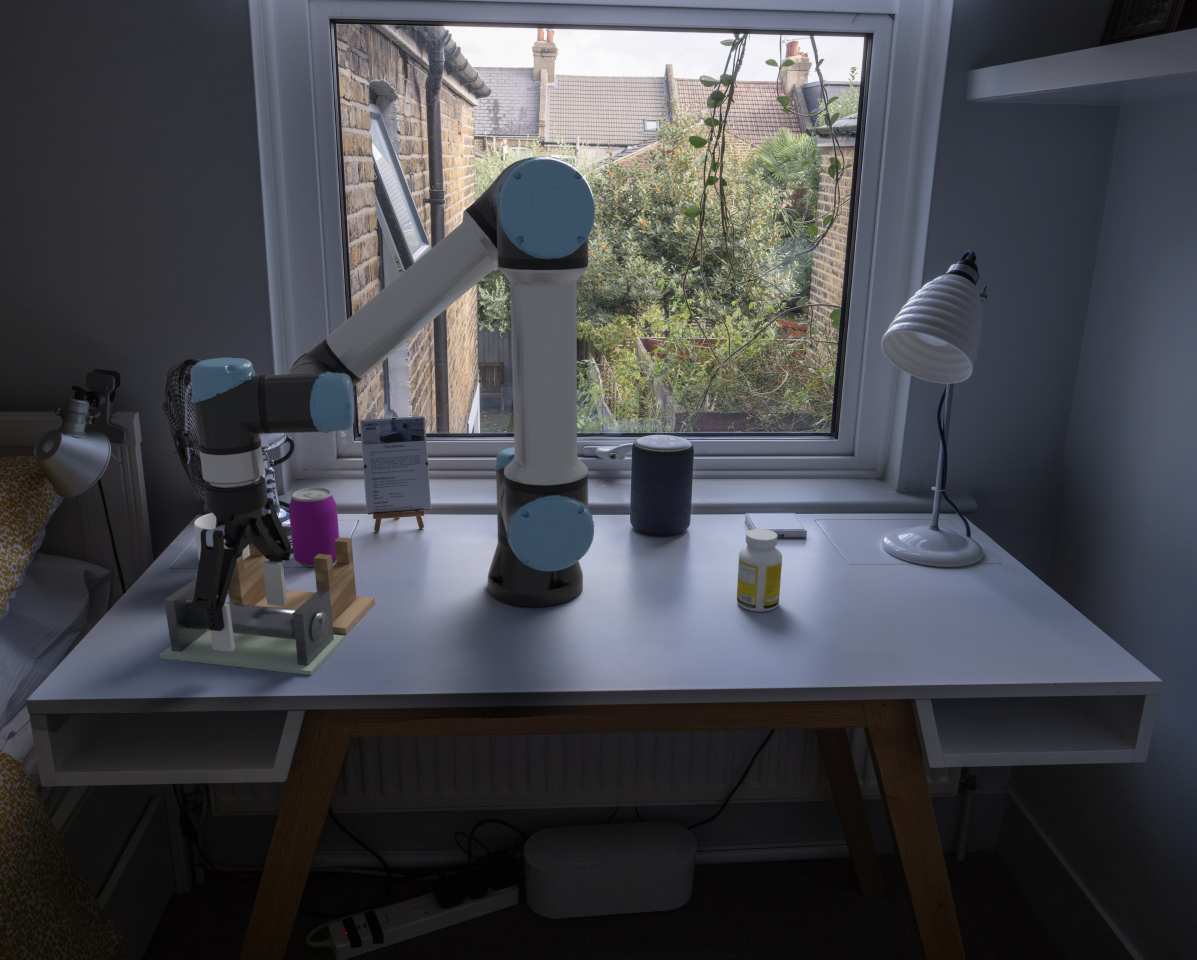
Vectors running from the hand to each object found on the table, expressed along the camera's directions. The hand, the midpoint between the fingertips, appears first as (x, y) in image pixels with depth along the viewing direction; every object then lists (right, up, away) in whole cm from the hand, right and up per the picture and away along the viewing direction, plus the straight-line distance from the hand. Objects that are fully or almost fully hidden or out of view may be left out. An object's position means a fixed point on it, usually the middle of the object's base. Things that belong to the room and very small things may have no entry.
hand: (252, 625), depth 127 cm
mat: (0, -3, +1) cm, 4 cm away
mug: (-12, +3, +21) cm, 25 cm away
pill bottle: (+72, +1, +16) cm, 74 cm away
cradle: (+2, 0, +12) cm, 12 cm away
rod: (0, -3, +1) cm, 3 cm away
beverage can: (0, +6, +31) cm, 31 cm away
